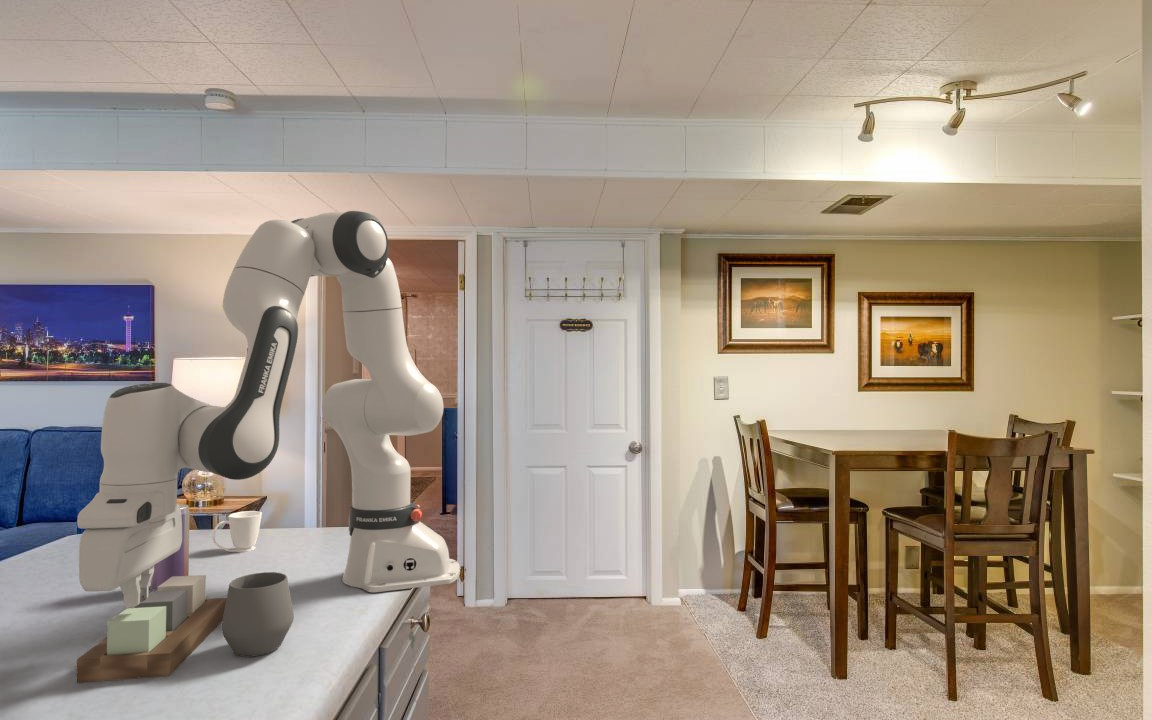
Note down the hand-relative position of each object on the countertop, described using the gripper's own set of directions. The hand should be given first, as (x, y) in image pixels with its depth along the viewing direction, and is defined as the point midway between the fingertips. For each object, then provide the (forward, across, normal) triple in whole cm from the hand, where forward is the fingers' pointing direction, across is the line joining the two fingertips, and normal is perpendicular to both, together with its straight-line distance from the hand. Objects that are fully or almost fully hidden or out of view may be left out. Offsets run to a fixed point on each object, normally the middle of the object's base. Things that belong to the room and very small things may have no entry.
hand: (136, 603), depth 87 cm
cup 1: (+8, -58, -6) cm, 59 cm away
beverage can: (+9, -34, -10) cm, 37 cm away
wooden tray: (+9, -7, 0) cm, 11 cm away
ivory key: (+6, -14, 0) cm, 15 cm away
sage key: (+6, 0, 0) cm, 6 cm away
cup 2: (+9, -4, +15) cm, 17 cm away
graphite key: (+6, -7, 0) cm, 9 cm away
